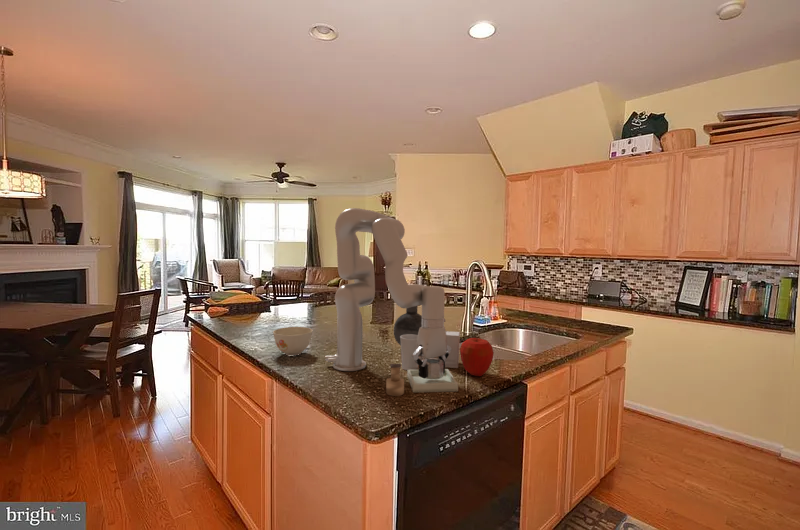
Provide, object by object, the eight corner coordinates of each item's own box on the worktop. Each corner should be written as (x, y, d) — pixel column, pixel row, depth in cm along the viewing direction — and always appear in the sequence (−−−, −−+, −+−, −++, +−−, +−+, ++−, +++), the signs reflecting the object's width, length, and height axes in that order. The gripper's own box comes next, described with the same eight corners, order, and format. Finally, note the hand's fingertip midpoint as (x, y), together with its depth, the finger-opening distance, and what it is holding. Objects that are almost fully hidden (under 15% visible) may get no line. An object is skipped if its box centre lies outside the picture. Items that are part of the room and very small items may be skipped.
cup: (405, 372, 140) (406, 340, 139) (396, 366, 147) (396, 335, 146) (424, 369, 143) (425, 338, 143) (414, 363, 151) (414, 333, 150)
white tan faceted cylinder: (386, 396, 117) (387, 367, 117) (385, 389, 123) (386, 361, 122) (404, 395, 118) (405, 367, 118) (402, 388, 124) (403, 361, 123)
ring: (446, 374, 129) (446, 360, 129) (436, 380, 124) (436, 365, 123) (424, 370, 134) (424, 356, 134) (413, 375, 128) (413, 360, 128)
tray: (413, 392, 121) (413, 384, 121) (407, 376, 135) (407, 369, 135) (458, 391, 122) (458, 383, 122) (447, 375, 137) (447, 369, 137)
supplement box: (458, 368, 145) (459, 335, 145) (438, 366, 147) (439, 334, 146) (459, 362, 153) (460, 331, 152) (440, 361, 154) (441, 330, 154)
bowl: (266, 353, 161) (266, 330, 160) (301, 347, 171) (301, 325, 171) (283, 362, 149) (283, 337, 148) (319, 355, 159) (319, 331, 159)
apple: (454, 370, 143) (455, 333, 143) (483, 368, 146) (484, 332, 145) (467, 381, 131) (468, 341, 131) (499, 379, 134) (500, 340, 133)
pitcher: (397, 346, 175) (398, 281, 174) (438, 350, 170) (440, 283, 168) (390, 352, 165) (391, 283, 164) (433, 357, 160) (435, 286, 158)
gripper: (444, 318, 136) (443, 367, 137) (405, 324, 126) (404, 376, 126) (459, 322, 130) (458, 373, 131) (419, 328, 120) (418, 383, 120)
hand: (431, 374), depth 129 cm, fingers closed on ring, 7 cm apart
